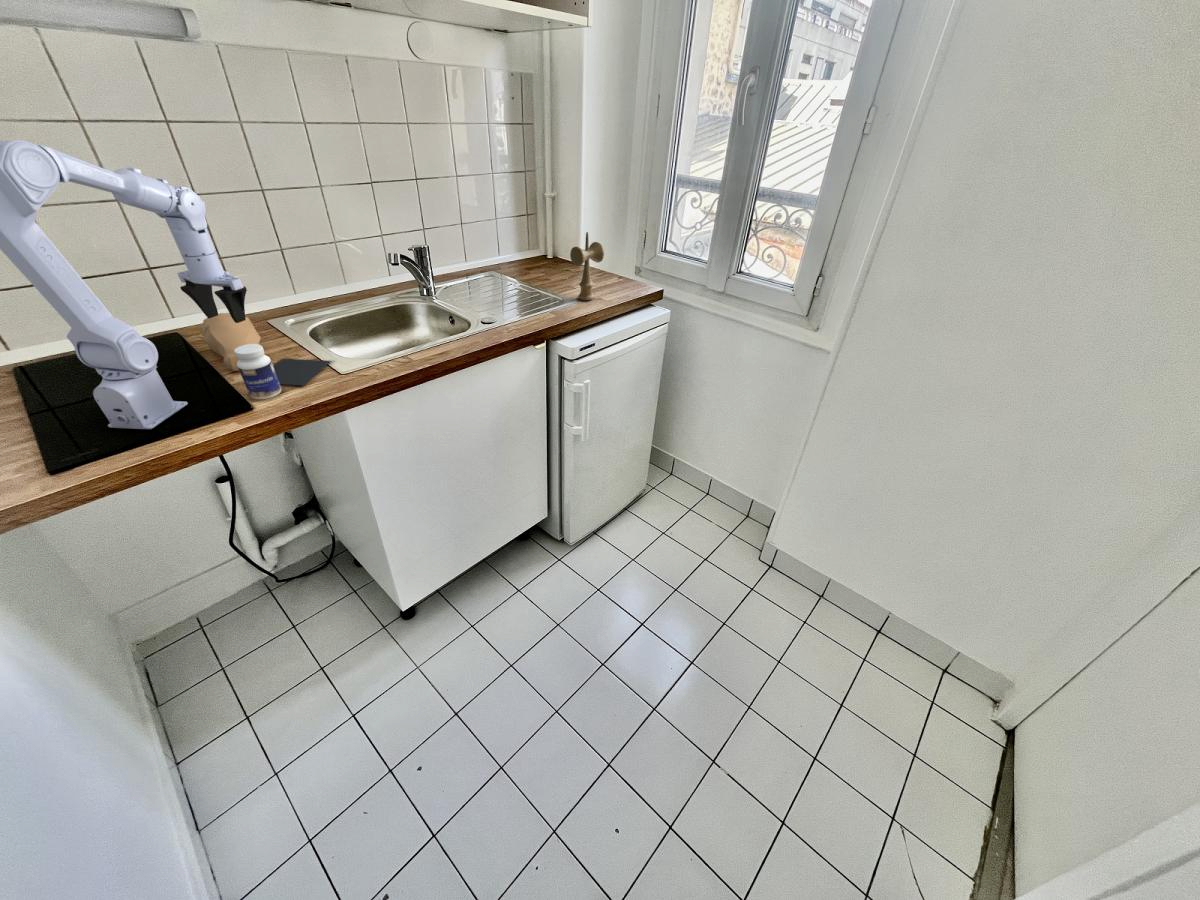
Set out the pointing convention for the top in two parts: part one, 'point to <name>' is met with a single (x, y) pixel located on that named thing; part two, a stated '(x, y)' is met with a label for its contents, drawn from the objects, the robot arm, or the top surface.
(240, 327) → the squash
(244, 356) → the pill bottle
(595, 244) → the kendama
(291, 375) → the mat
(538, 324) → the top surface
